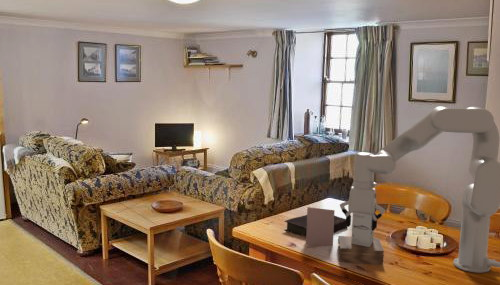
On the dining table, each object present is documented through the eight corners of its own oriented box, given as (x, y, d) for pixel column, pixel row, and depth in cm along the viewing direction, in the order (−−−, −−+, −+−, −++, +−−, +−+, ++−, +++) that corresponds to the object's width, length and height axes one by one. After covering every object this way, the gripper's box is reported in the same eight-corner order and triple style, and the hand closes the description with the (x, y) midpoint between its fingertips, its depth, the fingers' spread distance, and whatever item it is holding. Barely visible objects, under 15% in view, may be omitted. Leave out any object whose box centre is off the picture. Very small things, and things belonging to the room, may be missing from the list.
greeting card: (333, 244, 200) (334, 209, 197) (330, 250, 193) (331, 214, 191) (306, 240, 203) (307, 206, 201) (302, 246, 197) (303, 211, 194)
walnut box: (378, 252, 193) (379, 238, 192) (383, 266, 179) (384, 251, 178) (337, 249, 195) (337, 235, 194) (338, 263, 181) (339, 248, 180)
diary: (348, 229, 222) (348, 219, 221) (315, 242, 204) (315, 230, 203) (315, 219, 235) (316, 209, 234) (282, 230, 217) (282, 220, 216)
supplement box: (350, 244, 184) (352, 212, 183) (355, 238, 191) (356, 208, 189) (369, 247, 181) (371, 215, 179) (373, 241, 188) (375, 210, 186)
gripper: (387, 185, 183) (385, 228, 185) (343, 180, 190) (341, 221, 192) (384, 189, 176) (382, 234, 178) (338, 184, 183) (336, 227, 186)
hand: (361, 227), depth 185 cm, fingers open, 9 cm apart
